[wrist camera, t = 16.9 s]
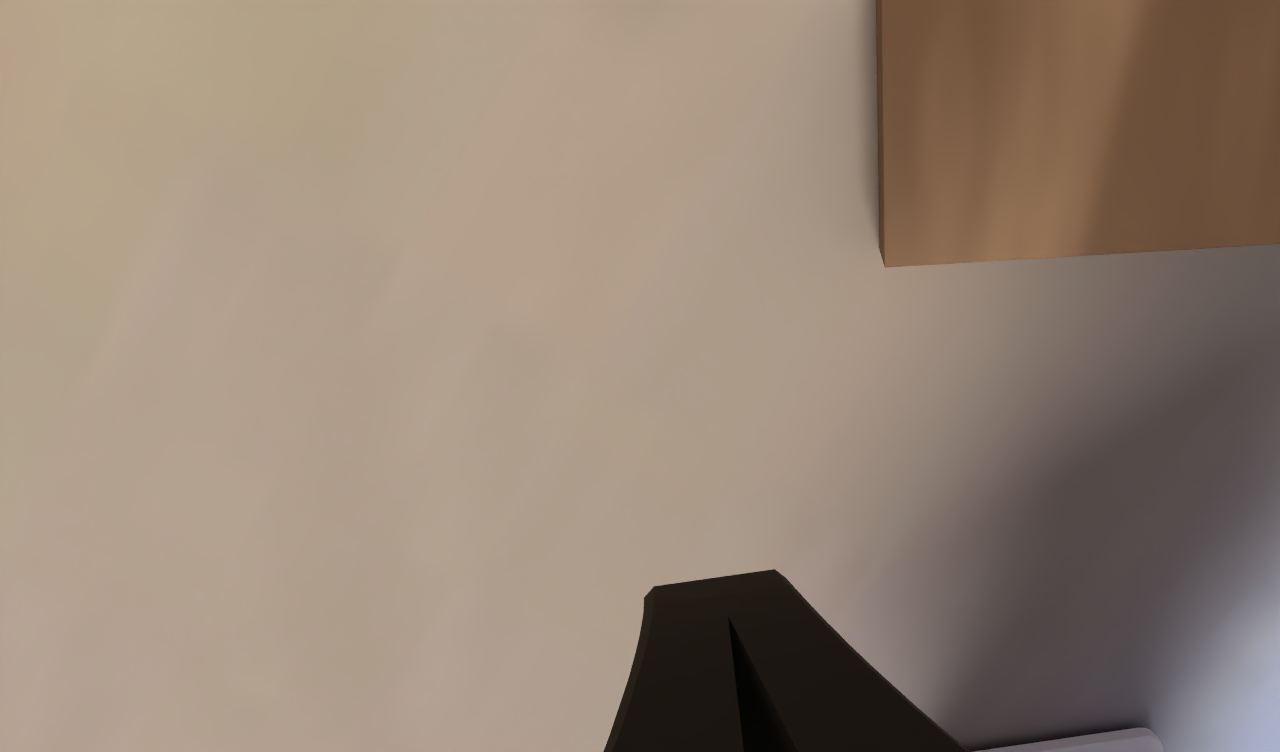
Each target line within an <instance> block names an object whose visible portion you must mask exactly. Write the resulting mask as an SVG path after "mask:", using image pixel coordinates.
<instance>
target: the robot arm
mask: <svg viewBox="0 0 1280 752" xmlns="http://www.w3.org/2000/svg"><path fill="white" fill-rule="evenodd" d="M1162 751H1163V747H1162V742H1161V741H1160V740H1159V739H1158V738H1157V736H1156V735H1155V734H1154V733H1153V732H1152V731H1151V730H1150V729H1147V728H1132V729H1125V730H1118V731H1111V732H1105V733H1098V734H1091V735H1084V736H1077V737H1070V738H1063V739H1056V740H1050V741H1043V742H1036V743H1029V744H1022V745H1015V746H1008V747H1002V748H995V749H988V750H981V751H974V752H1162ZM604 752H970V751H969V750H967V749H966V748H965V747H964V746H962V745H961V744H960V743H959V742H957V741H956V740H955V739H954V738H952V737H951V736H950V735H949V734H948V733H946V732H945V731H944V730H943V729H942V728H941V727H939V726H938V725H937V724H936V723H935V722H934V721H932V720H931V719H930V718H929V717H928V716H927V715H925V714H924V713H923V712H922V711H921V710H920V709H918V708H917V707H916V706H915V705H914V704H913V703H912V702H911V701H910V700H908V699H907V698H906V697H905V696H904V695H903V694H902V693H901V692H900V691H899V690H897V689H896V688H895V687H894V686H893V685H892V684H891V683H890V682H889V681H888V680H886V679H885V678H884V677H883V676H882V675H881V674H880V673H879V672H878V671H877V670H875V669H874V668H873V667H872V666H871V665H870V664H869V663H868V662H867V661H866V660H865V659H864V658H863V657H862V656H861V655H860V654H858V653H857V652H856V651H855V650H854V649H853V648H852V647H851V646H850V645H849V644H848V643H847V642H846V641H845V640H844V639H843V638H842V637H841V636H840V635H839V634H838V633H837V632H836V631H835V630H834V629H833V628H832V627H831V626H830V625H829V624H828V623H827V622H826V621H825V620H824V619H823V618H822V617H821V616H820V615H819V613H818V612H817V611H816V610H815V609H814V608H813V607H812V606H811V605H810V604H809V603H808V602H807V601H806V600H805V599H804V598H803V596H802V595H801V594H800V593H799V592H798V591H797V590H796V589H795V588H794V587H793V585H792V584H791V583H790V582H789V581H788V580H787V579H786V578H785V577H784V576H783V575H781V574H780V573H779V572H777V571H776V570H775V569H774V570H767V571H760V572H753V573H746V574H739V575H732V576H725V577H717V578H710V579H703V580H696V581H689V582H682V583H675V584H668V585H661V586H654V587H653V588H652V590H651V591H650V592H649V593H648V594H647V595H646V596H645V598H644V613H643V620H642V627H641V632H640V637H639V641H638V646H637V650H636V653H635V657H634V661H633V665H632V668H631V672H630V676H629V679H628V682H627V685H626V688H625V691H624V694H623V697H622V700H621V703H620V706H619V709H618V712H617V715H616V718H615V721H614V724H613V727H612V730H611V733H610V736H609V739H608V741H607V744H606V747H605V749H604Z"/></svg>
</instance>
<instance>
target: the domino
mask: <svg viewBox="0 0 1280 752" xmlns="http://www.w3.org/2000/svg"><path fill="white" fill-rule="evenodd" d="M876 22H877V94H878V165H879V237H880V253H881V256H882V259H883V263H884V266H885V267H900V266H917V265H934V264H951V263H967V262H984V261H1001V260H1017V259H1034V258H1051V257H1068V256H1084V255H1101V254H1118V253H1134V252H1151V251H1168V250H1185V249H1201V248H1218V247H1235V246H1251V245H1268V244H1280V0H876Z"/></svg>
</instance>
